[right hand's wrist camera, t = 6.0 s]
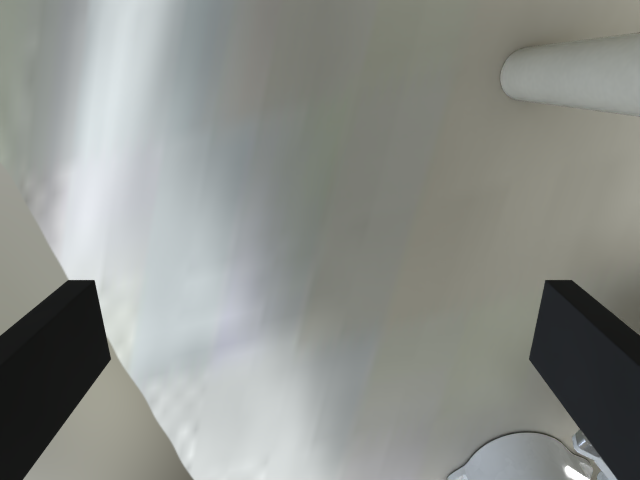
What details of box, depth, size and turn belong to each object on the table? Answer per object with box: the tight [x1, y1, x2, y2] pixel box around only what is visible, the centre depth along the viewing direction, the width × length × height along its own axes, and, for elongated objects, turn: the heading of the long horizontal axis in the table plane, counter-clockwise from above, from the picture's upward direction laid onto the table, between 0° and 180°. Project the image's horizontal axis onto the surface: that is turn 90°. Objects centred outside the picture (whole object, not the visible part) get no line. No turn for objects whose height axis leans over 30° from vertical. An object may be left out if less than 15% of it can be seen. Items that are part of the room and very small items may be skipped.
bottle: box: [500, 32, 640, 117], centre depth 28 cm, size 5×5×25 cm
